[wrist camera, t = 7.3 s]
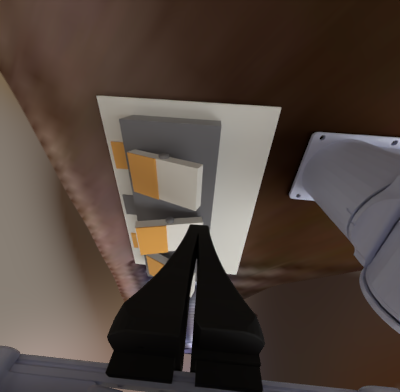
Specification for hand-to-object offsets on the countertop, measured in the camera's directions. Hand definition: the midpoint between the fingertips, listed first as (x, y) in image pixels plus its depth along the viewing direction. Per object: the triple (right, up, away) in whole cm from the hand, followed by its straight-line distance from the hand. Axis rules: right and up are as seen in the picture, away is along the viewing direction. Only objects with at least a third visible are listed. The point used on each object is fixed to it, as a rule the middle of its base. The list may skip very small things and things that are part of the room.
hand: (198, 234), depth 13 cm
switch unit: (-2, +1, +12) cm, 12 cm away
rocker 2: (-3, -1, +7) cm, 8 cm away
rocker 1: (-3, +5, +3) cm, 6 cm away
